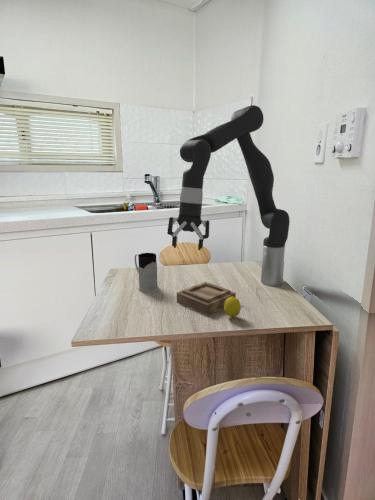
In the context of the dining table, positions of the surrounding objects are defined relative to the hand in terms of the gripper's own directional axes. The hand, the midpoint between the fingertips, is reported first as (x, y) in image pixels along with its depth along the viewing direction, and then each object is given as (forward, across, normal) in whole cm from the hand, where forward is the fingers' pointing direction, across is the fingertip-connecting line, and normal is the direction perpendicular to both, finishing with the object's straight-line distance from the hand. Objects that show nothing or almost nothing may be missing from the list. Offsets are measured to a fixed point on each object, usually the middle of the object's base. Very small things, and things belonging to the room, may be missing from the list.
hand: (187, 248), depth 108 cm
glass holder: (+23, +19, -23) cm, 38 cm away
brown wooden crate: (+22, -8, -9) cm, 25 cm away
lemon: (+22, -18, +3) cm, 29 cm away
